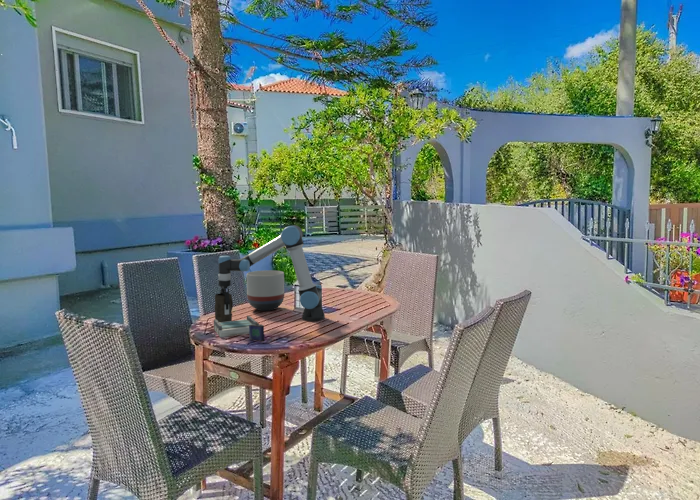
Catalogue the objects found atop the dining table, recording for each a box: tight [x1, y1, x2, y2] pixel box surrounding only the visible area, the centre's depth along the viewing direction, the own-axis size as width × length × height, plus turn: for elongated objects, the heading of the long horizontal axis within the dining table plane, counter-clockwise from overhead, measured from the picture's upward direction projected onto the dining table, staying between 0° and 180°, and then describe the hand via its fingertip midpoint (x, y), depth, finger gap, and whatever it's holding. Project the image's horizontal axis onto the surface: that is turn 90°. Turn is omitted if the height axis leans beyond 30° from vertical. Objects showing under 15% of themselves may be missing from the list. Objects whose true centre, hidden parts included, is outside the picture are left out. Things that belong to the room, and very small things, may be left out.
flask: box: [248, 321, 265, 342], centre depth 276 cm, size 9×3×11 cm, turn 72°
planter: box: [246, 269, 285, 312], centre depth 352 cm, size 27×27×27 cm
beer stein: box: [214, 292, 234, 322], centre depth 315 cm, size 15×11×20 cm
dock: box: [213, 315, 257, 338], centre depth 295 cm, size 20×22×6 cm
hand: (224, 312), depth 314 cm, fingers open, 13 cm apart
